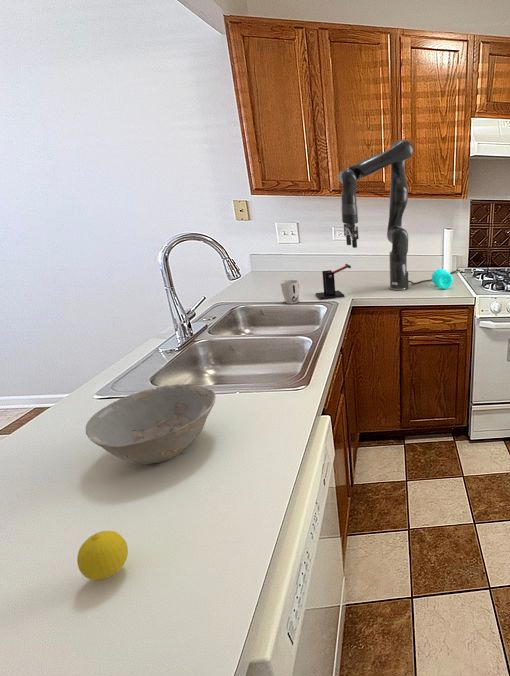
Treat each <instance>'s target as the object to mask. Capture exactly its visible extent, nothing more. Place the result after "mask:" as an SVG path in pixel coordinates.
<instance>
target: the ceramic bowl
mask: <svg viewBox="0 0 510 676" xmlns="http://www.w3.org/2000/svg"><path fill="white" fill-rule="evenodd" d="M215 402H216V392H214V390H213V389H209V387H204V386H203V385H199V384H190V383H186V384H184V383H182V384H170V385H164V386H163V385H162V386H158V387H155V389H154V388H150V389H145V390H142V391H139V392H136V393H131V394H129V395H126V396H124V397H122V398H119V399H117V400H116V401H113V402H111V403H109V404H108V405H107V406H104V407H103V408H101V409H100V410H98V411H97V412H95V413H94V414H93V415H92V416H91V417H90V418H89V419H88V420H87V422H86V424H85V435H86V436H87V438H88V439H89V440H90V441H91V442H92V443H94V445H97V446H98V447H101V449H103V450H105V452H107V453H109V454H111V455H112V456H113V457H115V458H116V459H120V460H122V461H126V462H128V463H129V462H130V463H134V464H141V465H149V464H156V463H163V462H168V461H169V460H171V459H174V458H175V457H176V456H178V455H179V454H180V453H181V452H182V451H183V450H185V449H186V448H187V447H188V446H189V445H191V443H192V442H193V441H194V440H195V439H196V438H197V437H198V436H199V435H200V434H201V433H202V431H203V429H204V427H205V424H206V422H207V419H208V417H209V415H210V413H211V411H212V409H213V407H214V405H215Z"/></svg>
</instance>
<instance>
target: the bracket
mask: <svg viewBox="0 0 510 676" xmlns="http://www.w3.org/2000/svg"><path fill="white" fill-rule="evenodd" d="M321 272H322V285H323V291H322V292H321V291H320V292H315V296H316V298H318V299H319V300H320V301H324V300H331V299H340V298H345V294H344V293H343V292H341V291H340V290H336V281H335V280H336V279H335V274H334V272H333V271H332V269H331V270H330V269H329V270H322V271H321Z"/></svg>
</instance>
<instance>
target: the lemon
mask: <svg viewBox="0 0 510 676" xmlns="http://www.w3.org/2000/svg"><path fill="white" fill-rule="evenodd" d="M128 548H129V547H128V543H127V542H126V539H125V538H124V537H123V535H121V534H120V533H118V532H116V531H114V530H102V531H99V532H96V533H94V534H92V535H91V536H89V537H88V538H86V540H85V541H84V542H83V543H82V544H81V545H80V547H79V549H78V552H77V557H76V560H77V561H76V562H77V566H78V567H77V568H78V570H79V572H80V573H81V575H82V576H84V577H85V578H86V579H88V580H92V581H101V580H105V579H108V578H110V577H112V576H114V575H115V574H117V573H118V572H119V571H120V570H121V569H122V568H123V566H124V565H125V563H126V562H127V558H128V555H129V550H128Z"/></svg>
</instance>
